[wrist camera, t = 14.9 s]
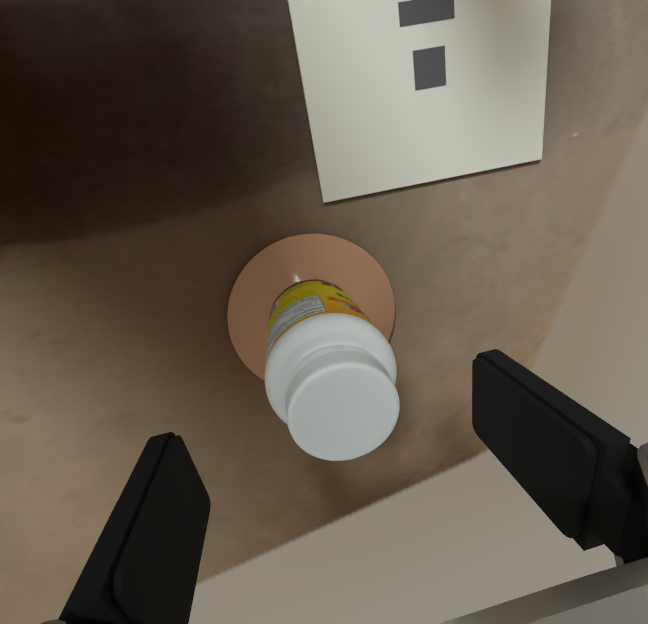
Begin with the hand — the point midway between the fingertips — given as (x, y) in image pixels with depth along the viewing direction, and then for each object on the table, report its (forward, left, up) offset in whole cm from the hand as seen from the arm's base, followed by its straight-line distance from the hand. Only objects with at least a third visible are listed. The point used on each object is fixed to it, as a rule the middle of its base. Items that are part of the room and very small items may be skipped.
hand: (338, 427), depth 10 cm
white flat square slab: (-13, +9, -12) cm, 20 cm away
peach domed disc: (+1, 0, -12) cm, 12 cm away
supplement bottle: (0, 0, -11) cm, 11 cm away
